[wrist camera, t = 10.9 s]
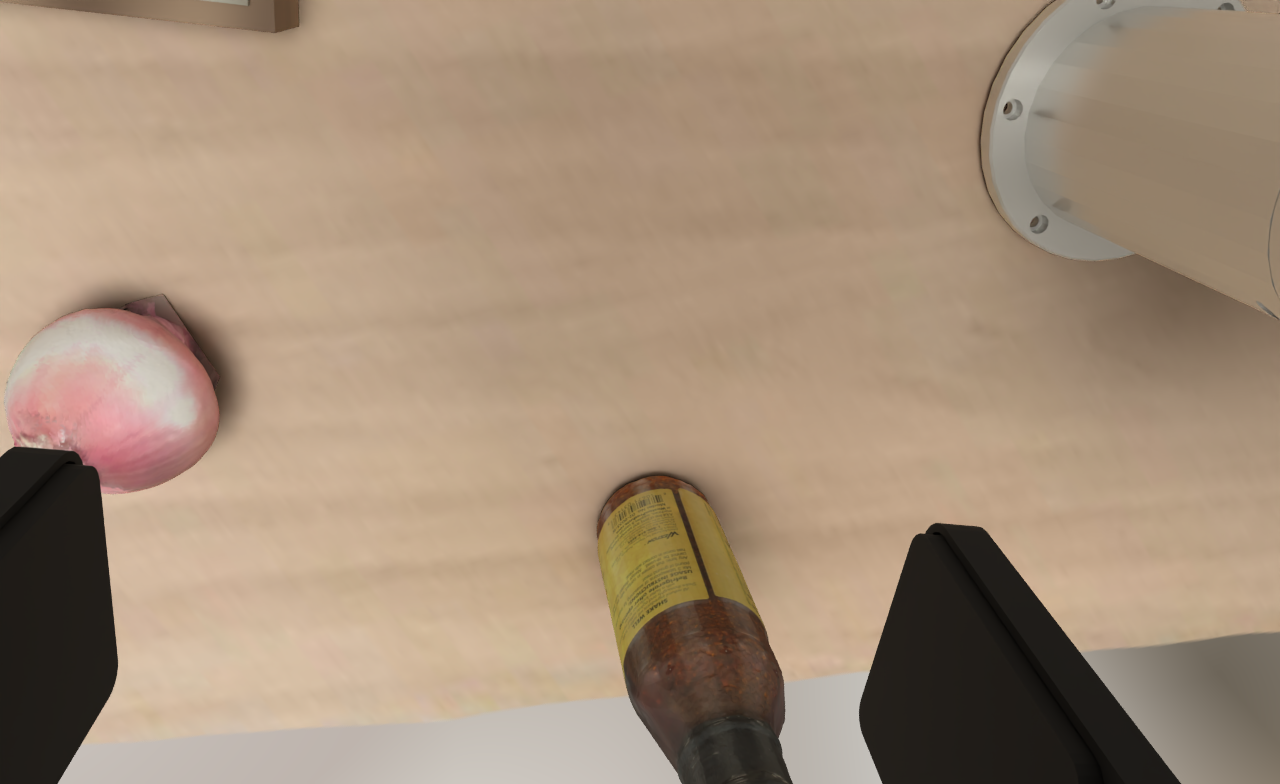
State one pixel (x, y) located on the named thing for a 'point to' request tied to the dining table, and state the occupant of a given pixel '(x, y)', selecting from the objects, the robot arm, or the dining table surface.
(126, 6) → the base
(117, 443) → the onion
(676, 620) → the sauce bottle
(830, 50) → the dining table surface
